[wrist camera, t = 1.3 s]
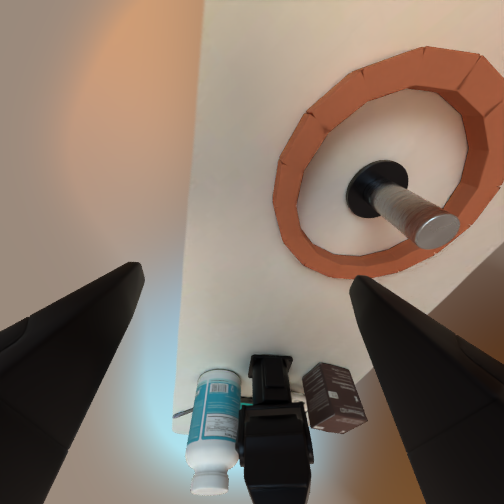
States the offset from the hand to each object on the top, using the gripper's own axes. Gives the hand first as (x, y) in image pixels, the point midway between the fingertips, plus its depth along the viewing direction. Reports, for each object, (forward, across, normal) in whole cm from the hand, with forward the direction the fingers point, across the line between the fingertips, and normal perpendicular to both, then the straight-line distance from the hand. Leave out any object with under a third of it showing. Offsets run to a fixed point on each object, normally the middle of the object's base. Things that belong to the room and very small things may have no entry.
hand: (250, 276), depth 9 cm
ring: (+12, -11, -1) cm, 16 cm away
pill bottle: (+12, +2, +34) cm, 36 cm away
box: (+12, -16, +31) cm, 37 cm away
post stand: (+12, -11, -1) cm, 16 cm away
